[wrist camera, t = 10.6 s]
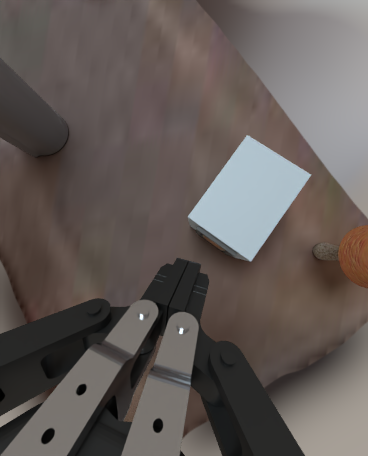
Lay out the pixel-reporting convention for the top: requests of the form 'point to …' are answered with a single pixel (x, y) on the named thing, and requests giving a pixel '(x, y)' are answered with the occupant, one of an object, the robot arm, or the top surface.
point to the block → (247, 199)
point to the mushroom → (349, 254)
